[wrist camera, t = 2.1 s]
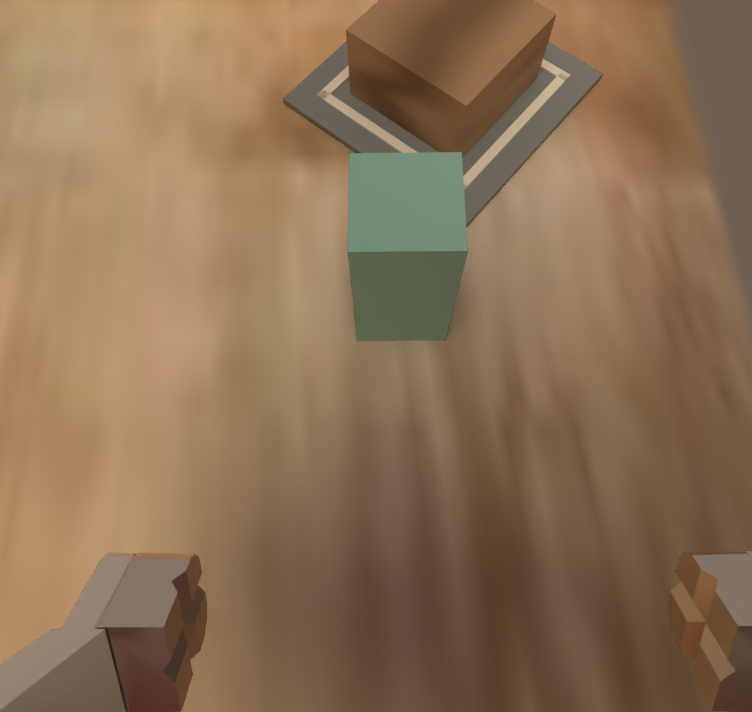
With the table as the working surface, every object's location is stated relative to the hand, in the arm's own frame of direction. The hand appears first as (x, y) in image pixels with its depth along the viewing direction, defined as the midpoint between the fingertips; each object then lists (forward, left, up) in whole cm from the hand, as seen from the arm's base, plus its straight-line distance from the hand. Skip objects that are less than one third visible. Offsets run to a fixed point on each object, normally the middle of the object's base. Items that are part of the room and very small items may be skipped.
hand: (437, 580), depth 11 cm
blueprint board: (-14, +21, -15) cm, 29 cm away
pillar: (-8, +10, -15) cm, 20 cm away
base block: (-14, +21, -15) cm, 29 cm away
